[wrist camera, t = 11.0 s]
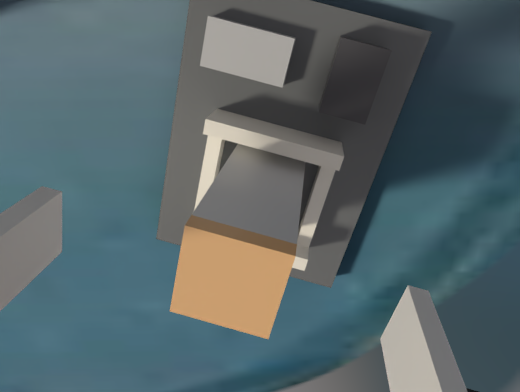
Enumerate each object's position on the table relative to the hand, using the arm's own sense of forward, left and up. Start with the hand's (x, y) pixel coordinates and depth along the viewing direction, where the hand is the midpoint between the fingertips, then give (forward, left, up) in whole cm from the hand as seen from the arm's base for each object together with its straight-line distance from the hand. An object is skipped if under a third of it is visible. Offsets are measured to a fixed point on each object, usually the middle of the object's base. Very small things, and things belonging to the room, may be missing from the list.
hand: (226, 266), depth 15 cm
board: (-2, 0, -11) cm, 11 cm away
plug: (0, 0, -9) cm, 10 cm away
